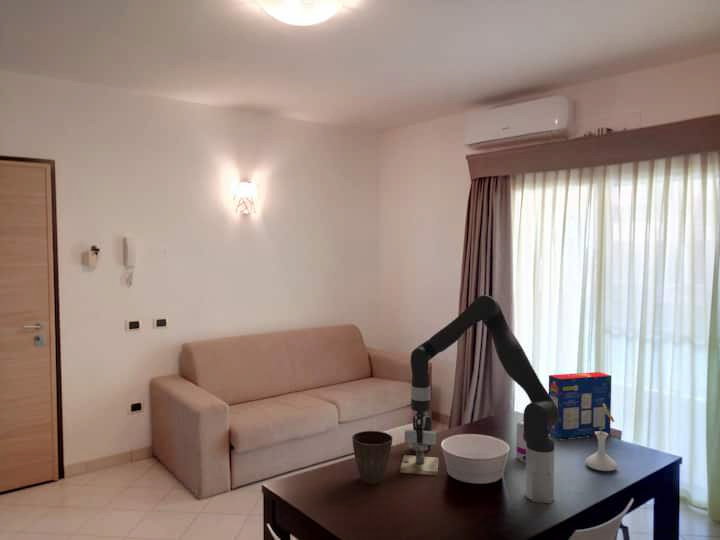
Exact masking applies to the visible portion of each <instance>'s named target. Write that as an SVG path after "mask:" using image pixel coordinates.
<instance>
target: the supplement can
mask: <svg viewBox="0 0 720 540" xmlns="http://www.w3.org/2000/svg"><path fill="white" fill-rule="evenodd" d="M516 424H517V425H516V451H515V452H516V455H515V457H516V458H517V459H518V460H519V461H521V462H524V461H526V440H525V437H524V422H523V420H518V422H517V423H516Z"/></svg>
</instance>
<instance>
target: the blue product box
mask: <svg viewBox="0 0 720 540" xmlns="http://www.w3.org/2000/svg"><path fill="white" fill-rule="evenodd" d="M548 394H549V395H550V397H551V398H552V400H553V401H554V403H555V404H556V406H557V408H558V411H559V421H558V422H557V424H555V425H553V426H551V427H548V434H550V435H551V436H550V435H549V436H550V437H552V436H553V437H552V438H554V437H555V438H554V439H556V438H557V439H559V440H558V441H561V440H560V439H566V440H570V439H569V438H576V439H578V438H577V437H586V438H588V437H587V436H595V437H597V436H596V434H595V432H597V431H601V429H599V428H601V427H602V425H601V422H600V421H601V420H602V418H603V416H604V414H605V412H606V411H605V409H604V407H603V403H604V404H605V405H606V407H607V410H609V412H610V415H611V410H612V375H610V374H607V373H604V372H599V371H594V372H581V373H579V372H577V373H564V374H549V375H548ZM611 416H612V415H611ZM611 422H612V421H611V419H610V418H609V416H608V415H605V416H604V418H603V420H602V424H603V426H604V427H605V428H604V429H602V432H606V433H608V434H609V435H608V436H611ZM557 439H556V440H557Z"/></svg>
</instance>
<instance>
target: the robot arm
mask: <svg viewBox="0 0 720 540" xmlns="http://www.w3.org/2000/svg"><path fill="white" fill-rule="evenodd" d="M480 322H482V323H483V325H485V327H486V329H487V331H488V332H489V334H490V335H491V336H490V337H491V338H492V340H493V345H494V349H495V352H496V356H497V357H498V360H499V362H500V364H501V366H502V368H503V369H504V372H505V373H506V374H507V375H508V377H509V378H511V379H512V380H513V381H514V382H515V383H516V384H517V385H519V387H520V388H522V390H523V391H524V392H525V394H526V395H527V397H528V399H529V401H530V403H528V404H526V406H525V408H524V409H523V416H522V417H523V418H522V419H523V422H524V437H525V440H526V462H525V497H526V498H527V499H529V500H530V501H531V502H533V503H541V504H552V502H553V501H554V499H555V495H554V493H555V491H554V490H555V446H556V445H555V441H554V440H553V439H552V437H549V435H548V427H551V426H553V425H555V424H557V422H558V421H559V411H558V408H557V406H556V404H555V403H554V401H553V400H552V398H551V397H550V395H549V391H547V390H546V387H544V384H543V383H542V382H541V380H540V378H539V376H538V374H537V372H536V371H535V369H534V367H533V366H532V364H531V362H530V360H529V358H528V355H527V354H526V353H525V351H524V349H523V347H522V345H521V344H520V342H519V341H518V338H517V337H516V336H515V334H514V333H513V331H512V330H511V328H510V327H509V325H508V323H507V320H506V318H505V316H504V313H503V310H502V308H501V306H500V304H499V302H498V300H496V299H495V298H493V297H492V296H490V295H486V294H483V295H482V294H481V295H480V296H478V297H476V298H475V299H474V300H473V301H472V302H471V303H470V304H469V305H468V306H467V307H466V308H465V310H463V311H462V312H461V313H460V314H459V315H458V316H457V317H455V319H453V320H451V322H449V323H448V324H447V325H446V326H444V327H443V328H442V329H440V330H439V331H438V332H436V333H435V334H433V335H432V336H431V337H430V338H429V339H428V340H426V341H425V342H423V343H421V344H419V345H418V346H417V347H415V349H413V350H412V352H411V354H410V368H411V389H410V409H411V410H412V411H414V412H416V415H415V419H416V423H415V426H416V433H417V443H422V442H423V431H424V429H423V428H424V424H425V418H426V413H427V412H428V411H430V410H431V388H430V387H431V386H430V385H431V381H430V380H431V377H430V376H431V375H430V372H429V361H431V360H432V359H433V358H435V357H436V356H437V355H438V354H440V353H442V352H444V351H445V350H447V349H448V348H450V347H451V346H452V345H454V344H455V343H456V342H457V341H458V340H459V339H460V338H461V337H462V336H463V335H464V334H465V332H466V331H468V330H469V328H471V327H473V326H474V325H476V324H477V323H480Z"/></svg>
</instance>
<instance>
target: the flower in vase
mask: <svg viewBox="0 0 720 540" xmlns="http://www.w3.org/2000/svg"><path fill="white" fill-rule="evenodd" d="M603 407H604V409H605V411H606V412H605V414H604V416H605V415H608V416H609V418H610V419H611V421H610V422H612V423H614V422H616V421H615V419H614V417H613V416H612V415H610V412H609V410H607V407H606V405H605V404H604V403H603ZM604 416H603V418H604ZM603 418H602V420H603ZM602 420H601V421H600V422H601V425H602V427H601V428H599V429H601V431H597V432H595V434H596V436H595V437H596V438H597V445H598V448H597V451H596V452H594V453H593V454H591V455H589V456H588V457H586V459H585V461H584V462H585V464H586V466H587V467H590V468H591V469H593V470H597V471H601V472H610V471H615V470H616V469H617V468H618V465H617V463H616V462H615V460H614V459H612V458H611V456H609V455H608V454H607V453H606V449H605V444H606V439H607V437H608V436H610V435H609V434H608V433H606V432H602V429H604V428H605V427H604V426H603V424H602Z"/></svg>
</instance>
